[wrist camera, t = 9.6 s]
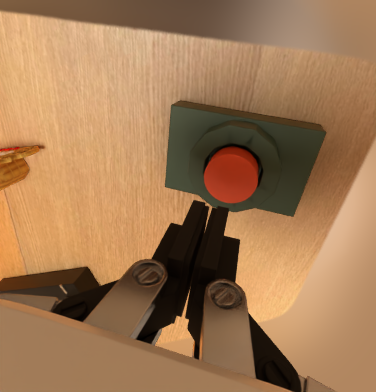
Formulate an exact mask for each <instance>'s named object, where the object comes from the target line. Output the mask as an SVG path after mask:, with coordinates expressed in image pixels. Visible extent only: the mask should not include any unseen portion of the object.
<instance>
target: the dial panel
mask: <svg viewBox="0 0 376 392" xmlns="http://www.w3.org/2000/svg"><path fill="white" fill-rule="evenodd" d="M96 287H99V284H98V283H97V281H96V280H95V278H94V277H93V275H92V274H91V272H90V270H89V269H88V267H84V268H77V269H70V270H63V271H56V272H49V273H42V274H34V275H27V276H20V277H13V278H6V279H2V280H1V281H0V294H5V293H7V294H20V295H34V296H47V297H57V298H58V300H60V301H62V300H64V298H65V297H70V296H73V295H75V294H78V293H81V292H84V291H87V290H90V289H93V288H96Z"/></svg>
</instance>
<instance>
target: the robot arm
mask: <svg viewBox="0 0 376 392" xmlns="http://www.w3.org/2000/svg"><path fill="white" fill-rule="evenodd" d="M208 211H209V207H208V206H205V203H204V202H200V201H195V200H194V201H193V203H192V205H191V207H190V209H189V212H188V214H187V216H186V218H185V220H184V222H183V225H178V224H174V223H171V224H170V225H169V227H168V229H167V231H166V233H165V235H164V236H163V238H162V240H161V242H160V244H159V246H158V248H157V249H156V251H155V253H154V255H153V257H152V259H144V260H140V261H137V262H135V263H134V264H133V265H132V266H131V267H130V268H129V269H128V270H127V271H126V273H125V274H124V275H123V276H122V277H121V278H120V279H119V280H116V281H113V282H111V283H108V284H105V285H102V286H99V287H96V288H93V289H90V290H87V291H84V292H81V293H78V294H75V295H73V296H70V297H68V298H66V299H64V300H62V301H60V300H58V298H57V297H47V296H34V295H20V294H7V293H5V294H0V392H336V391H334V390H333V389H331V388H329V387H327V386H325V385H323V384H322V383H320V382H318V381H316V380H314V379H312V378H310V377H309V376H307V378H306V379H305V378H304V377H302V376H300V375H298V373H297V372H296V370H295V369H294V367H293V366H292V364H291V363H290V362H289V361H288V360H287V358H286V357H285V356H284V355H283V354H282V352H281V351H280V350H279V349H278V348H277V346H276V345H275V344H274V343H273V342H272V340H271V339H270V338H269V337H268V336H267V335H266V333H265V332H264V331H263V330H262V329H261V327H260V326H259V325H258V324H257V323H256V321H255V320H254V319H253V318H252V317H251V315H250V314H249V313H248V308H247V300H246V296H245V293H244V291H243V290H242V288H241V287H240V286H239V285H238V284H236V283H235V280H236V271H237V262H238V253H239V245H240V240H239V239H235V238H231V237H227V236H224V231H225V226H226V221H227V217H228V212H229V208H226V207H222V206H217V208H212V211H211V214H210V217H209V220H208V223H207V227H206V221H207V216H208ZM205 227H206V230H205ZM204 232H205V233H204ZM190 287H191V288H190ZM189 290H190V293H189ZM188 293H189V299H188V305H187V310H186V316H185V318H186V319H189V323H188V328H187V329H188V331H189V332H190V334H191V336H192V337H193V339H194V344H193V355H192V358H191V357H188V356H185V355H182V354H179V353H176V352H173V351H169V350H167V349H163V348H161V347H157V346H155V344H156V342H157V340H158V338H159V336H160V334H161V331H162V328H164V327H166V326H168V325H170V324H171V323H173V324H174V322H175V319H176V316H180V317H181V316H182V313H183V310H184V307H185V303H186V300H187V297H188Z"/></svg>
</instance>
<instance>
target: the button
mask: <svg viewBox="0 0 376 392" xmlns="http://www.w3.org/2000/svg"><path fill="white" fill-rule="evenodd" d="M204 183H205V186H206V188H207V190H208V191H209V193H210V194H211V195H212V196H213V197H215V198H216V199H218V200H220V201H222V202H226V203H238V202H242V201H244V200H246V199H247V198H249V197H250V196H251V195H252V194H253V193H254V191H255V189H256V187H257V183H258V164H257V161H256V159H255V158H254V156H253V155H252V154H251V153H250V152H249V151H247V150H245V149H243V148H240V147H235V146H231V147H225V148H223V149H220V150H219V151H217V152H216V153H215V154H214V155H213V156H212V158H211V160H210V161H209V163H208V165H207V167H206V169H205V173H204Z"/></svg>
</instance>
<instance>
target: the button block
mask: <svg viewBox="0 0 376 392" xmlns="http://www.w3.org/2000/svg"><path fill="white" fill-rule="evenodd" d="M325 135H326V131H325V130H324V129H323V127H322V126H321V125H319V124H313V123H307V122H302V121H296V120H290V119H284V118H278V117H272V116H267V115H261V114H255V113H249V112H243V111H237V110H232V109H226V108H220V107H214V106H208V105H202V104H197V103H191V102H185V101H178V102H176V103H174V104H172V105H171V115H170V128H169V140H168V153H167V166H166V179H165V187H167V188H171V189H175V190H180V191H184V192H188V193H193V194H197V195H199V196H200V197H201V198H202V199H204V200H205V201H206V202H207V203H209V204H210V205H211V206H212V207H214V208H217V206H222V207H226V208H229V211H231V212H239V211H244V210H248V209H253V208H257V209H261V210H266V211H270V212H274V213H279V214H283V215H287V216H292V217H293V216H294V214H295V211H296V209H297V206H298V204H299V201H300V199H301V196H302V194H303V191H304V188H305V186H306V183H307V181H308V178H309V176H310V173H311V171H312V168H313V165H314V163H315V160H316V158H317V155H318V153H319V150H320V148H321V145H322V142H323V140H324V137H325ZM231 146H235V147H240V148H243V149H245V150H247V151H249V152H250V153H251V154H252V155H253V156H254V158H255V159H256V161H257V164H258V183H257V187H256V189H255V191H254V193H253V194H252V195H251V196H250V197H249V198H247V199H246V200H244V201H242V202H238V203H226V202H222V201H220V200H218V199H216V198H215V197H213V196H212V195H211V194H210V193H209V191H208V190H207V188H206V186H205V183H204V173H205V169H206V167H207V165H208V163H209V161H210V160H211V158H212V156H213V155H214V154H215V153H216V152H217V151H219V150H220V149H223V148H225V147H231Z"/></svg>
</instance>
